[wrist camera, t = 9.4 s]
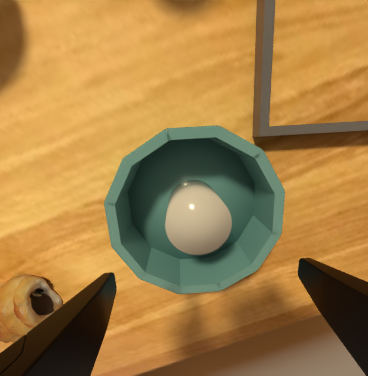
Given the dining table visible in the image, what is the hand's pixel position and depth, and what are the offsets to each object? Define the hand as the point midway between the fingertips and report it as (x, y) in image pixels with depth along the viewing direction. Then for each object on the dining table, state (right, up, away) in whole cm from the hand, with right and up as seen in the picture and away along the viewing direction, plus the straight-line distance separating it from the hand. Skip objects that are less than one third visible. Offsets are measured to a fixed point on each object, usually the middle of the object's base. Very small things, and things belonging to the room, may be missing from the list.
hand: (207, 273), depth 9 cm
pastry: (-20, -9, +13) cm, 25 cm away
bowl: (0, +3, +10) cm, 11 cm away
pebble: (0, +3, +10) cm, 10 cm away
